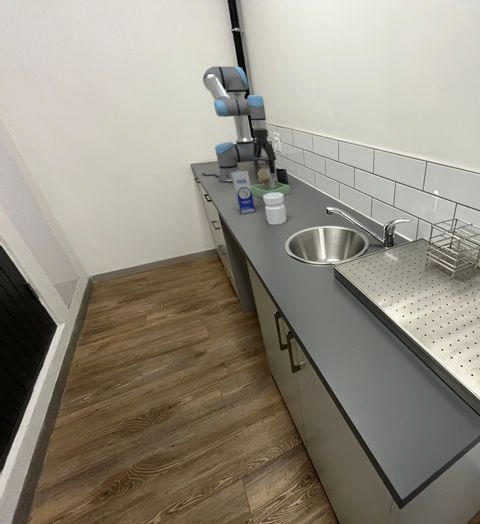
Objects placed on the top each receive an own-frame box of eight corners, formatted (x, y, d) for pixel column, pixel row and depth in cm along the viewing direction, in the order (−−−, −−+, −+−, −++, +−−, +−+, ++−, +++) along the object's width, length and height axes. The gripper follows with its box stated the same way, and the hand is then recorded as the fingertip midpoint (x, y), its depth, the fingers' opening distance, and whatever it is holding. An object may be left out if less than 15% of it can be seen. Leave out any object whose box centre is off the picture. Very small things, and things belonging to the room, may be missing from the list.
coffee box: (259, 187, 168) (253, 158, 160) (265, 184, 173) (260, 156, 165) (272, 188, 166) (268, 159, 157) (278, 185, 171) (274, 157, 163)
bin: (250, 193, 171) (248, 186, 169) (272, 187, 181) (271, 180, 179) (268, 199, 161) (266, 191, 159) (290, 193, 171) (289, 185, 169)
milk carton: (240, 214, 142) (231, 172, 132) (238, 210, 148) (229, 169, 138) (255, 211, 145) (247, 170, 135) (252, 207, 150) (245, 167, 140)
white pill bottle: (277, 226, 129) (273, 199, 123) (263, 222, 133) (258, 196, 127) (290, 219, 135) (287, 194, 129) (276, 216, 139) (273, 191, 133)
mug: (286, 181, 194) (284, 167, 190) (289, 185, 185) (287, 171, 180) (271, 182, 191) (269, 168, 187) (274, 187, 182) (272, 172, 177)
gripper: (241, 128, 158) (249, 169, 169) (267, 131, 145) (273, 176, 156) (253, 126, 163) (260, 167, 174) (279, 129, 150) (284, 173, 161)
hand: (266, 171), depth 165 cm, fingers closed on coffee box, 10 cm apart
